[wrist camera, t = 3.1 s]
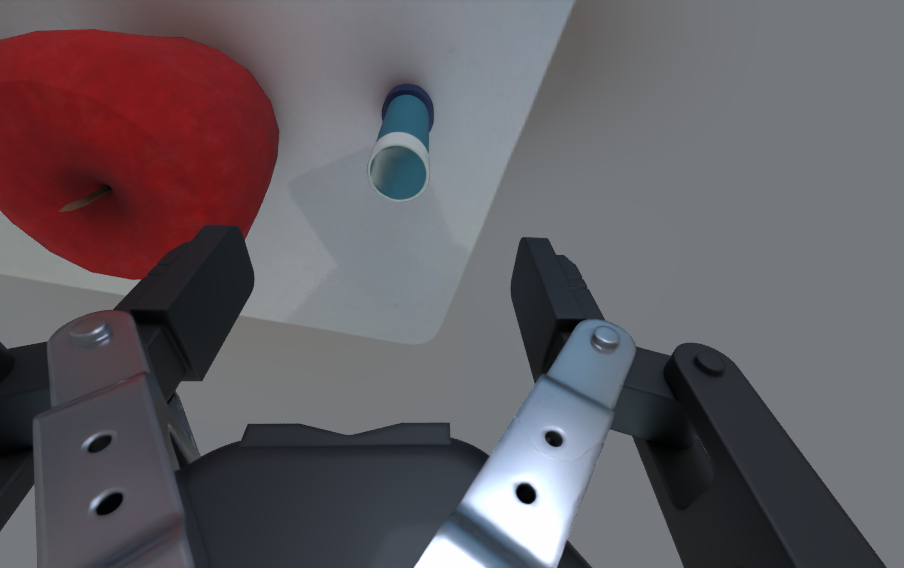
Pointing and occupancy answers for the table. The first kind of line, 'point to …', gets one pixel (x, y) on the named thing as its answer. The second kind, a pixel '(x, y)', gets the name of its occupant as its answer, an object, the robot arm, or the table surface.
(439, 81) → the table surface
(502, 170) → the table surface
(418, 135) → the dot marker
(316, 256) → the table surface
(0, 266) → the table surface
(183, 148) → the apple
